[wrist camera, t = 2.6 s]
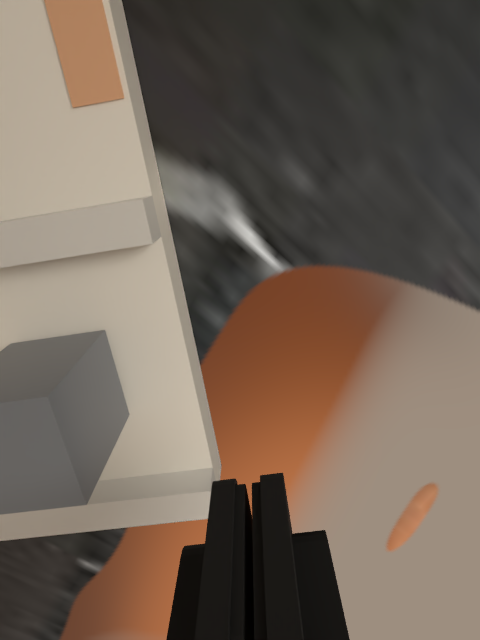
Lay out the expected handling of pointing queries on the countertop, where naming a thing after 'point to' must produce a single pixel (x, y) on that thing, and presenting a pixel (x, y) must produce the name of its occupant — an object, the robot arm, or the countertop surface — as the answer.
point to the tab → (57, 420)
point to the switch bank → (98, 256)
